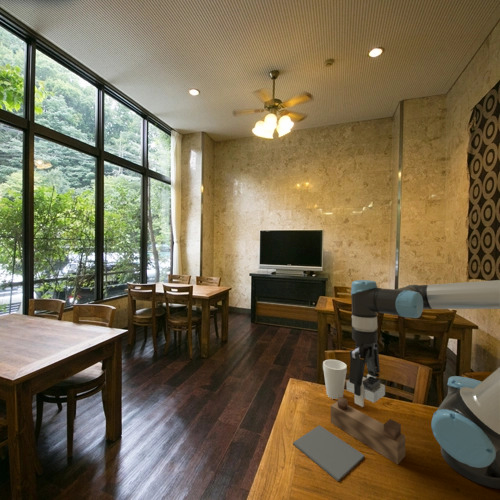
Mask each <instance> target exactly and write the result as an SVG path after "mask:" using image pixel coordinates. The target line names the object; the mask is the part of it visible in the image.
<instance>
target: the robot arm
mask: <svg viewBox="0 0 500 500" xmlns="http://www.w3.org/2000/svg"><path fill="white" fill-rule="evenodd" d="M350 295H351V326H352V328H351V338H352V340H353V341H354V342H355V346H354V350H352V349H350V350H349V356H350V358H349V359H350V361H349V362H350V363H349V379H348V380H349V382H350V383H352V384H354V393H353V395H354V396H353V397H354V404H355V405H358V406H360V407H361V408H363V407H365V398H364V385H363V384H362V380H363V377H364V373H365V366H366V369H367V373H368V374H366V378H369V377H370V376H371V377H374V378H380V371H381V369H380V355H379V343H378V340H379V339H378V338H379V337H378V314H379V313H380V314H385V315H390V316H391V315H392V316H397V317H403V318H409V319H410V318H411V319H412V318H413V319H418V318H420V317H421V316H422V314H423V311H424V310H500V279H496V280H495V279H494V280H482V281H479V280H478V281H465V282H463V281H462V282H451V283H450V282H448V283H435V284H433V283H432V284H422V285H421V284H420V285H419V284H411V285H410V284H409V285H407V286H405V287H400V288H396V289H395V288H394V289H393V288H392V289H391V288H382V287H378V285H377V282H376V281H375V280H371V279H370V280H368V279H357V280H354V281H352V282H351V291H350ZM446 384H447V395H446V397H445V398H444V399H443V401H442V402H441V403H440V405H439V406H438V408H437V410H436V411H434V412H433V415H432V419H431V423H430V425H431V430H432V434H433V436H434V439H435V440H436V441H437V443H438V444H439V445H440V454H441V457H442V458H443V459H444V461H445V462H446V463H447V464H448V465H449V466H450V467H451V468H452V469H453V470H454V471H456V473H458V474H460V475H462V476H463V477H464V478H466V479H468V480H470V481H471V482H474V483H476V484H478V485H481V486H484V487H488V488H492V489H496V490H497V489H498V490H499V489H500V366H499V367H498V368H497V369H496V370H494V371H493V372H492V373H491V374H490V375H488V376H487V377H486V378H485V379H484V380H483V381H480V380H477V379H474V378H470V377H465V376H461V375H460V376H459V375H458V376H457V375H454V376H449V377H448V380H447V383H446Z"/></svg>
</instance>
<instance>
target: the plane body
mask: <svg viewBox="0 0 500 500" xmlns="http://www.w3.org/2000/svg"><path fill="white" fill-rule="evenodd" d="M330 423H331V424H332V425H334V426H335V427H336V428H338V429H340V430H342V431H343V432H345V433H347V434H348V435H350V436H352V437H353V438H354V439H356V440H357V441H360V442H361V443H363V444H364V445H366V446H367V447H369V448H370V449H372V450H374V451H375V452H377V453H378V454H380V455H381V456H383V457H384V458H385V459H388V460H390V461H391V462H392V463H394V464H396V465H399V464H400V463H401V462H402V461H403V460H404V458H405V457H406V435H405V434H403V433H402V431H401V430H402V428H401V427H402V424H401V423H399V422H398V421H396V420H393V419H391V418H389V419H388V420H387V421H386V422H385V423H382V422H381V421H379V420H377V419H375V418H373V417H371V416H370V415H367V414H365V413H363V412H362V411H360V410H358V409H356V408H355V407H352V406H350V405H349V404H348V399H347V398H345V397H344V396H343V397H339V398H338V400H336V401H335V402H334V403H332V404H330Z"/></svg>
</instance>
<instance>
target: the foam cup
mask: <svg viewBox="0 0 500 500" xmlns="http://www.w3.org/2000/svg"><path fill="white" fill-rule="evenodd" d="M347 366H348V365H347V364H346V363H345V362H343V361H341V360H338V359H326V360H323V362H322V370H323V375H324V383H325V384H324V385H325V389H326V390H325V391H326V396H327V395H328V396H327V397H328V398H329V397H330V398H329V399H331V398H332V399H331V400H333V399H338V398H339V397H343V398H344V391H345V385H346V377H347V376H346V375H347V373H348V371H347V369H348V368H347Z"/></svg>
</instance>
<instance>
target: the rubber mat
mask: <svg viewBox="0 0 500 500" xmlns="http://www.w3.org/2000/svg"><path fill="white" fill-rule="evenodd" d="M292 445H293V446H294V447H296V448H297V449H298V450H299V451H300V452H302V454H304V455H305V456H307V458H309V459H310V460H311V461H312V462H314V463H315V465H317V466H319V467H320V468H321V469H322V470H323V471H325V472H326V473H327V474H328V475H329V476H331V478H333V479H334V480H335V481H337V482H338V481H339V482H340V481H341V480H342V479H343V478H344V477H345V476H347V474H349V473H350V472H351V471H352V470H353V469H354V468H355V467H356V466H357V465H358V464H359V463H360V462H361V461H362V460H364V458H365V454H363V453H362V452H360V451H359V450H357V449H355V448H354V447H352V446H351V445H350V444H349V443H347V442H345V441H344V440H342V439H341V438H339V437H338V436H336V435H335V434H333V433H332V432H331V431H329V430H327V429H326V428H324V427H323V426H321V425H320V424H319V425H317V426H316V427H315V428H312V430H310V431H308V432H306V433H305V434H304V435H302V436H301V437H299V438H297V439H295V440H294V441H293V442H292ZM342 477H343V478H342ZM341 478H342V479H341ZM340 479H341V480H340Z"/></svg>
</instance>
